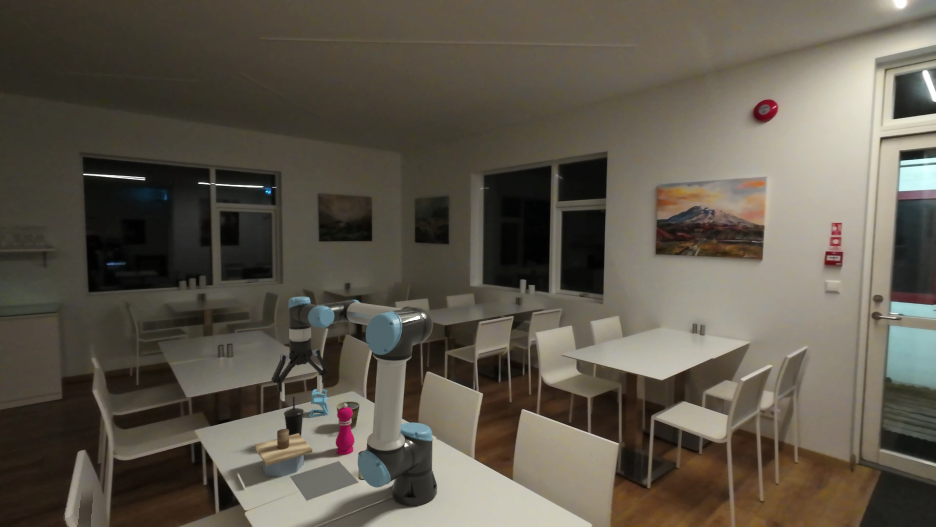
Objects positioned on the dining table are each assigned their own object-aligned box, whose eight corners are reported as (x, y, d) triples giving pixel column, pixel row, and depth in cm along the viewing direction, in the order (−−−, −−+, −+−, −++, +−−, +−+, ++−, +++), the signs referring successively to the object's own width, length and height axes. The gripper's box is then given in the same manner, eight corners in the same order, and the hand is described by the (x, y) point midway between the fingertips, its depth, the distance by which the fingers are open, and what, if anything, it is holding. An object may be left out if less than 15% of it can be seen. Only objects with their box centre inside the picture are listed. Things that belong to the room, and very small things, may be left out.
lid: (312, 452, 165) (312, 433, 164) (265, 465, 155) (265, 445, 154) (298, 436, 177) (298, 418, 177) (254, 447, 167) (254, 429, 167)
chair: (327, 417, 213) (327, 392, 212) (308, 417, 211) (308, 392, 211) (329, 410, 220) (329, 386, 219) (312, 411, 219) (312, 387, 218)
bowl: (307, 470, 165) (307, 451, 165) (269, 482, 157) (269, 462, 157) (296, 456, 176) (295, 438, 175) (260, 466, 168) (259, 448, 167)
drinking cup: (307, 440, 189) (306, 393, 187) (298, 449, 181) (298, 400, 180) (290, 439, 189) (289, 392, 188) (280, 447, 182) (279, 399, 180)
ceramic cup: (335, 424, 205) (334, 402, 204) (357, 420, 209) (357, 399, 208) (339, 436, 193) (339, 413, 192) (363, 432, 197) (363, 410, 196)
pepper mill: (331, 454, 177) (331, 404, 176) (344, 446, 184) (344, 398, 182) (345, 458, 174) (345, 408, 173) (358, 450, 180) (358, 402, 179)
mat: (358, 483, 157) (358, 482, 157) (306, 502, 146) (306, 500, 146) (338, 462, 171) (338, 461, 171) (290, 477, 160) (290, 476, 160)
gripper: (329, 332, 175) (330, 386, 177) (261, 342, 160) (262, 400, 161) (337, 336, 170) (338, 391, 171) (267, 346, 154) (269, 407, 155)
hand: (301, 396), depth 166 cm, fingers open, 13 cm apart
